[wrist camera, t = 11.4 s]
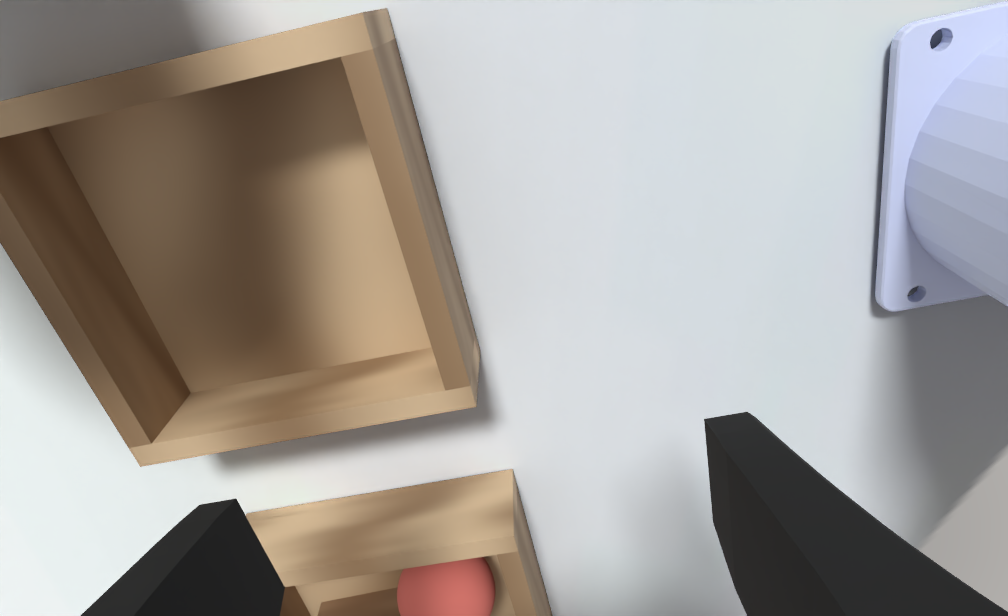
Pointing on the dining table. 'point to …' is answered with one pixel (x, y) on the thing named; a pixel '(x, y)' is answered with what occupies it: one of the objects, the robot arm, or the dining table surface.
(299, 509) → the box with ball
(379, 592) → the walnut block
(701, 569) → the dining table surface
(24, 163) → the box empty
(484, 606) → the red ball
